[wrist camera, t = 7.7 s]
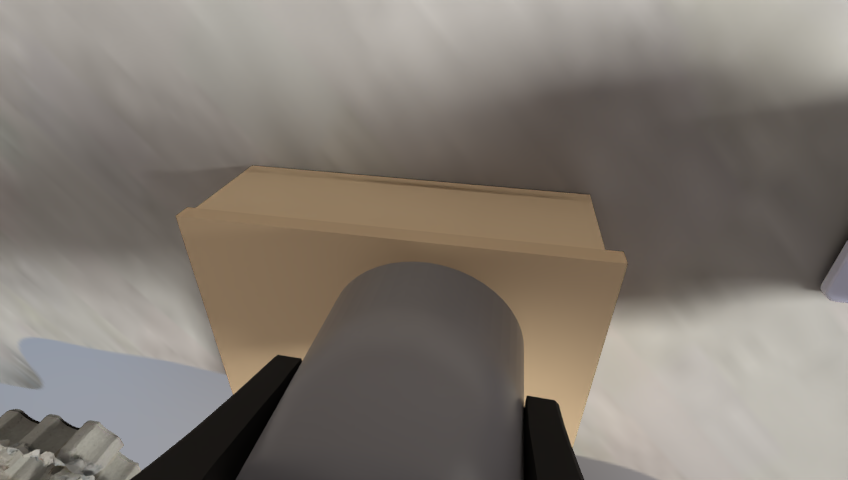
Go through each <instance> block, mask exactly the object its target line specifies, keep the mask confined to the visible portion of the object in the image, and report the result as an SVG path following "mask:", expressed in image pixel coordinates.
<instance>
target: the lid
mask: <svg viewBox="0 0 848 480" xmlns="http://www.w3.org/2000/svg"><path fill="white" fill-rule="evenodd" d="M176 219H177V222H178V225H179V228H180V231H181V234H182V238H183V241H184V244H185V247H186V250H187V253H188V256H189V259H190V262H191V265H192V269H193V272H194V275H195V278H196V281H197V284H198V287H199V290H200V293H201V296H202V300H203V303H204V306H205V309H206V312H207V315H208V318H209V321H210V324H211V327H212V331H213V334H214V337H215V340H216V343H217V346H218V349H219V352H220V355H221V359H222V362H223V365H224V368H225V371H226V374H227V377H228V380H229V383H230V386H231V390H232V393H233V394H235V393H236V392H237V391H238V390H239V389H240V388H241V387H242V386H243V385H245V384H246V383H247V382H248V381H249V380H250V379H251V378H252V377H253V376H254V375H255V374H256V373H258V372H259V371H260V370H261V369H262V368H263V367H264V366H265V365H266V364H267V363H268V362H270V361H271V360H272V359H273V358H274V357H275V356H277V355H283V356H289V357H295V358H301V359H302V361H303V359H304V357H305V355H306V354H307V352H308V350H309V348H310V347H311V345H312V343H313V341H314V339H315V338H316V336H317V334H318V332H319V330H320V329H321V327H322V325H323V323H324V322H325V320H326V318H327V316H328V314H329V313H330V311H331V309H332V307H333V306H334V304H335V302H336V300H337V299H338V297H339V295H340V294H341V292H342V291H343V289H344V288H345V287H346V286H347V285H348V284H349V283H350V282H351V281H352V280H354V279H355V278H356V277H358V276H359V275H361V274H363V273H364V272H366V271H368V270H371V269H373V268H376V267H378V266H382V265H386V264H390V263H398V262H425V263H433V264H438V265H443V266H446V267H449V268H453V269H456V270H459V271H461V272H463V273H465V274H468V275H470V276H472V277H474V278H475V279H477V280H479V281H480V282H482V283H484V284H485V285H486V286H488V287H489V288H490V289H492V290H493V291H494V292H495V293H496V294H497V295H499V296H500V297H501V298H502V299H503V300H504V302H505V303H506V304H507V305H508V307H509V308H510V309H511V310H512V312H513V314H514V315H515V317H516V319H517V321H518V323H519V326H520V328H521V331H522V336H523V340H524V406H525V401H526V397H527V396H533V397H539V398H545V399H551V400H555V401H556V402H557V403H558V404H559V407H560V411H561V415H562V418H563V421H564V425H565V428H566V431H567V434H568V437H569V440H570V443H571V446H572V448H573V445H574V441H575V438H576V435H577V431H578V428H579V425H580V421H581V418H582V415H583V411H584V408H585V405H586V401H587V398H588V395H589V391H590V388H591V385H592V381H593V378H594V375H595V371H596V368H597V365H598V361H599V358H600V355H601V352H602V348H603V345H604V342H605V338H606V335H607V332H608V328H609V325H610V322H611V318H612V315H613V312H614V308H615V305H616V302H617V298H618V295H619V292H620V288H621V285H622V282H623V278H624V275H625V272H626V268H627V265H628V263H627V260H626V257H625V254H624V252H621V251H611V250H602V249H592V248H582V247H572V246H563V245H553V244H543V243H533V242H523V241H514V240H504V239H494V238H484V237H475V236H465V235H455V234H445V233H435V232H426V231H416V230H406V229H396V228H386V227H377V226H367V225H357V224H347V223H338V222H328V221H318V220H308V219H298V218H289V217H279V216H269V215H259V214H250V213H240V212H230V211H220V210H210V209H201V208H191V207H187V208H186V209H184V210H183V211H182V212H180V213H179V214H178V215H176Z"/></svg>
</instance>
